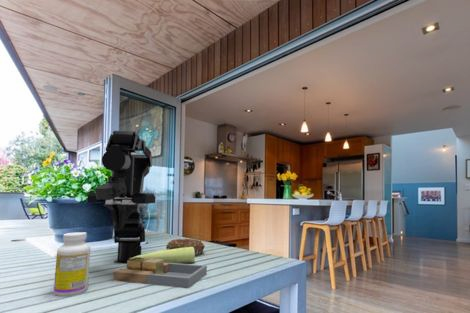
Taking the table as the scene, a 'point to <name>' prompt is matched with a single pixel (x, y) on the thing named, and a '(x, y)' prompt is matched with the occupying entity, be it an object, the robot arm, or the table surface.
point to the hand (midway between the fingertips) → (119, 229)
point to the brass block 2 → (153, 265)
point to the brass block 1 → (135, 263)
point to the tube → (173, 255)
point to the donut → (186, 244)
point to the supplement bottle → (72, 265)
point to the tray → (178, 275)
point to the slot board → (135, 275)
